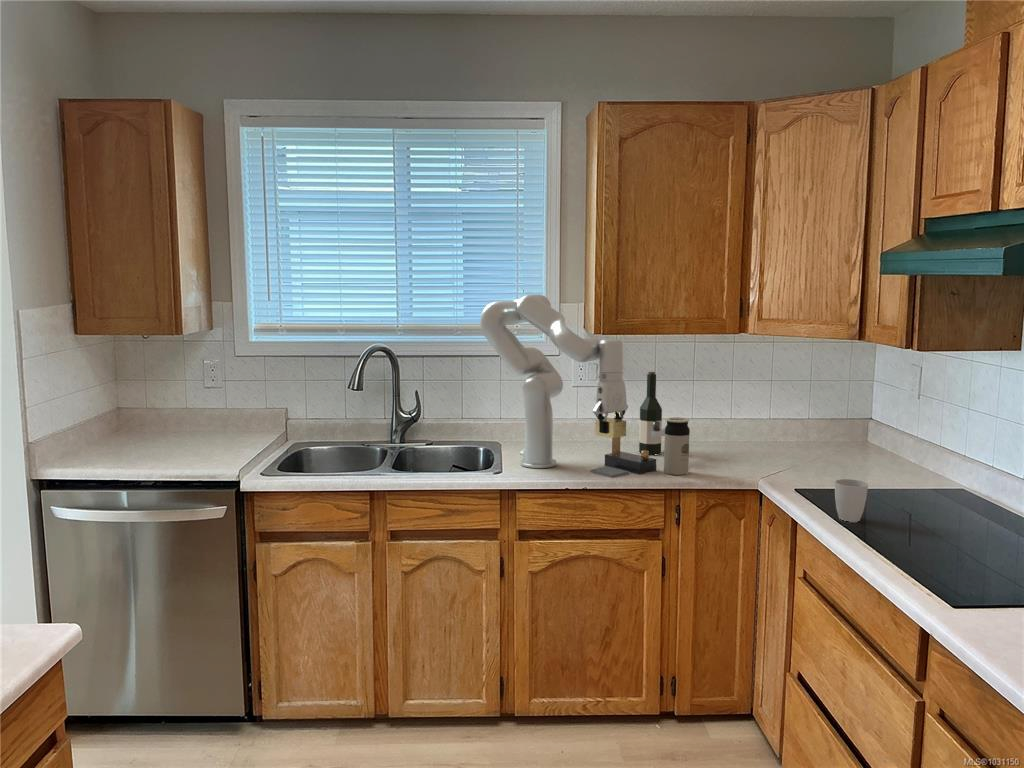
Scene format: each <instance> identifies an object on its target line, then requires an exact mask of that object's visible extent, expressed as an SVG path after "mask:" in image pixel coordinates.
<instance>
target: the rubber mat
mask: <svg viewBox="0 0 1024 768" xmlns="http://www.w3.org/2000/svg"><path fill="white" fill-rule="evenodd" d="M589 472H590V473H593V474H597V475H600V476H605V477H609V478H616V477H621V476H625V475H629V474H630V472H629V471H625V470H621V469H617V468H613V467H609V466H605V465H604V466H600V467H595V468H591V469H589Z"/></svg>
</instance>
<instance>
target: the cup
mask: <svg viewBox="0 0 1024 768" xmlns="http://www.w3.org/2000/svg"><path fill="white" fill-rule="evenodd" d="M868 489H869V483H867V482H865V481H862V480H857V479H852V478H841V479H836V480H835V481H834V500H835V508H836V513H837V516H838V519H839V520H840V519H841V520H840V521H842V520H844V521H843V522H845V521H849V522H848V523H858V521H859V522H860V520H861V518H862V517H863V513H864V510H865V506H866V502H867V497H868V496H867V495H868Z"/></svg>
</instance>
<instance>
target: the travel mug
mask: <svg viewBox="0 0 1024 768" xmlns="http://www.w3.org/2000/svg"><path fill="white" fill-rule="evenodd" d="M665 420H666V426H665V427H664V428H665V436H664V446H663V448H664V451H663V473H665V474H667V475H670V476H685V475H688V474H689V467H690V466H689V463H690V462H689V461H690V456H689V455H690V435H691V434H690V433H691V432H690V428H689V422H690V419H689V418H687V417H676V416H675V417H674V416H673V417H667V418H665Z"/></svg>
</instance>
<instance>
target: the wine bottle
mask: <svg viewBox="0 0 1024 768" xmlns="http://www.w3.org/2000/svg"><path fill="white" fill-rule="evenodd" d="M656 397H657V374H656V372H655V371H648V372H647V374H646V398H645V399H644V400H643V402H642V404H641V405H640V407H639V437H638V438H639V440H638V441H639V443H638V449H639V450H638V453H639V452H640V453H641V451H643V450H646V451H649V456H656V455H655V454H659V455H661V454H662V436H660V437H651V431H653V422H660V429H663V428H662V426H663V425H662V423H663V419H662V418H663V409H662V407H661V405H660V403H659V401H658V399H657V398H656ZM640 453H639V454H640ZM660 453H661V454H660Z"/></svg>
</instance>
